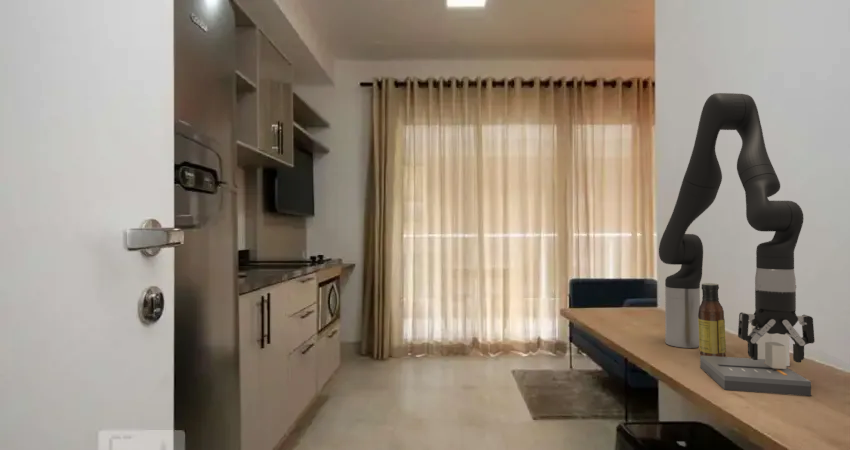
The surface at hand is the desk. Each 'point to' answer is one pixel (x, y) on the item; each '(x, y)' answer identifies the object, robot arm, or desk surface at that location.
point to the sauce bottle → (711, 323)
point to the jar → (771, 338)
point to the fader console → (753, 376)
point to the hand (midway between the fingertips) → (775, 360)
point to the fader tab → (775, 355)
